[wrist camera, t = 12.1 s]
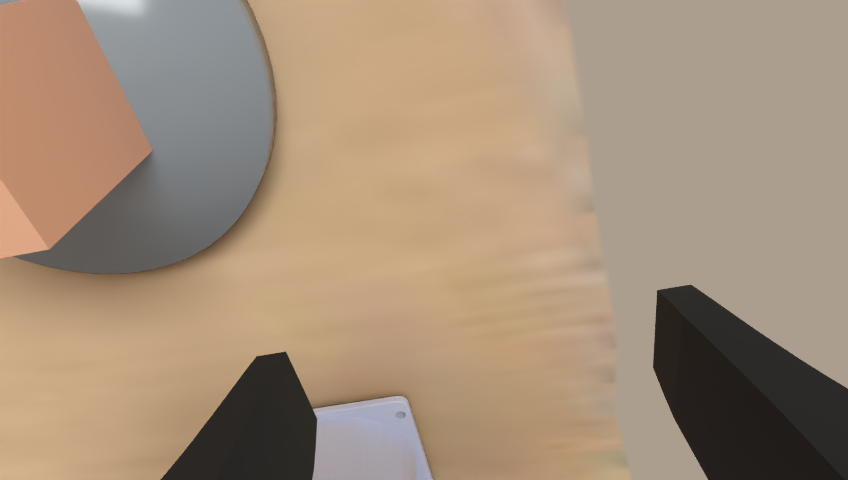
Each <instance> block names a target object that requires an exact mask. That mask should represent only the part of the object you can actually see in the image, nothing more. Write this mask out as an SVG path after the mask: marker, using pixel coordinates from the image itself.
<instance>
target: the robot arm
mask: <svg viewBox="0 0 848 480" xmlns="http://www.w3.org/2000/svg"><path fill="white" fill-rule="evenodd" d="M653 368H654V371H655V373H656V376H657V378H658V381H659V383H660V386H661V388H662V391H663V393H664V396H665V398H666V400H667V403H668V405H669V407H670V410H671V412H672V414H673V417H674V419H675V421H676V422H677V424H678V426H679V428H680V430H681V432H682V433H683V435H684V437H685V439H686V441H687V442H688V444H689V446H690V448H691V450H692V451H693V453H694V455H695V457H696V459H697V460H698V462H699V464H700V466H701V467H702V469H703V471H704V473H705V475H706V476H707V478H708V480H848V389H847V388H846V387H844V386H842V385H841V384H839V383H837V382H836V381H834V380H832V379H831V378H829V377H827V376H826V375H824V374H823V373H821V372H819V371H818V370H816V369H815V368H813V367H811V366H810V365H808V364H807V363H805V362H803V361H802V360H800V359H799V358H797V357H795V356H794V355H793V354H791V353H790V352H788V351H787V350H785V349H784V348H782V347H781V346H779V345H777V344H776V343H774V342H773V341H771V340H770V339H769V338H767V337H765V336H764V335H763V334H761V333H760V332H758V331H756V330H755V329H754V328H752V327H751V326H749V325H748V324H747V323H745V322H744V321H742V320H741V319H739V318H738V317H736V316H735V315H734V314H732V313H731V312H729V311H728V310H727V309H725V308H724V307H722V306H721V305H719V304H718V303H717V302H715V301H714V300H712V299H711V298H709V297H708V296H706V295H705V294H704V293H702V292H701V291H699V290H698V289H697V288H695V287H693V286H692V285H686V286H680V287H674V288H668V289H662V290H658V291H657V305H656V324H655V343H654V362H653ZM161 480H433V478H432V474H431V471H430V468H429V465H428V462H427V459H426V455H425V452H424V449H423V446H422V443H421V440H420V436H419V433H418V430H417V427H416V424H415V421H414V417H413V414H412V411H411V408H410V405H409V402H408V400H407V399H406V398H405V397H403V396H392V397H386V398H380V399H373V400H367V401H360V402H354V403H347V404H341V405H334V406H328V407H322V408H315V409H312V407H311V404H310V402H309V400H308V398H307V396H306V394H305V392H304V389H303V387H302V385H301V383H300V381H299V379H298V377H297V374H296V372H295V370H294V368H293V366H292V364H291V362H290V359H289V357H288V355H287V353H286V352H281V353H275V354H269V355H263V356H257V357H256V358H255V359H254V361H253V362H252V363H251V364H250V366H249V367H248V368H247V370H246V371H245V372H244V373H243V375H242V376H241V377H240V379H239V380H238V382H237V383H236V384H235V386H234V387H233V388H232V390H231V391H230V392H229V394H228V395H227V396H226V398H225V399H224V400H223V402H222V403H221V404H220V406H219V407H218V408H217V410H216V411H215V412H214V414H213V415H212V416H211V418H210V419H209V420H208V421H207V423H206V424H205V425H204V427H203V428H202V429H201V431H200V432H199V433H198V434H197V436H196V437H195V438H194V440H193V441H192V442H191V444H190V445H189V446H188V447H187V449H186V450H185V451H184V452H183V454H182V455H181V456H180V457H179V458H178V460H177V461H176V462H175V463H174V464H173V466H172V467H171V468H170V469H169V470H168V472H167V473H166V474H165V475H164V476H163V478H162V479H161Z"/></svg>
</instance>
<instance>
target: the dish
mask: <svg viewBox="0 0 848 480" xmlns="http://www.w3.org/2000/svg"><path fill="white" fill-rule="evenodd" d="M16 1H21V0H0V5H3V4H8V3H12V2H16ZM77 1H78V3H79V5H80V7H81V9H82V11H83V13H84V15H85V17H86V19H87V21H88V23H89V25H90V27H91V29H92V31H93V33H94V35H95V37H96V39H97V41H98V43H99V45H100V47H101V49H102V51H103V53H104V55H105V57H106V59H107V61H108V63H109V65H110V67H111V69H112V71H113V73H114V75H115V77H116V79H117V81H118V83H119V85H120V87H121V88H122V90H123V92H124V94H125V96H126V98H127V100H128V102H129V104H130V106H131V108H132V110H133V112H134V114H135V116H136V118H137V120H138V122H139V124H140V126H141V128H142V130H143V132H144V134H145V136H146V138H147V140H148V142H149V144H150V146H151V148H152V150H153V151H152V152H151V153H150V154H149V155H148V156H147V157H145V158H144V159H143V160H142V161H141V162H140V163H139V164H138V165H137V166H136V167H135V168H134V169H133V170H132V171H131V172H130V173H129V174H128V175H127V176H126V177H125V178H123V179H122V180H121V181H120V182H119V183H118V184H117V185H116V186H115V187H114V188H113V189H112V190H111V191H110V192H109V193H108V194H107V195H106V196H105V197H104V198H103V199H102V200H100V201H99V202H98V203H97V204H96V205H95V206H94V207H93V208H92V209H91V210H90V211H89V212H88V213H87V214H86V215H85V216H84V217H83V218H82V219H81V220H80V221H78V222H77V223H76V224H75V225H74V226H73V227H72V228H71V229H70V230H69V231H68V232H67V233H66V234H65V235H64V236H63V237H62V238H61V239H60V240H59V241H58V242H56V243H55V244H54V245H53V246H52V247H51V248H50V249H48V250H43V251H38V252H32V253H27V254H22V255H16V256H14V257H17V258H19V259H22V260H26V261H29V262H33V263H36V264H40V265H44V266H47V267H52V268H57V269H63V270H68V271H73V272H83V273H95V274H125V273H133V272H142V271H148V270H152V269H156V268H160V267H165V266H169V265H171V264H174V263H176V262H179V261H181V260H184V259H187V258H189V257H191V256H193V255H194V254H196V253H198V252H200V251H202V250H203V249H205V248H207V247H208V246H210V245H211V244H212V243H213V242H215V241H216V240H217V239H219V238H220V237H221V236H222V235H224V234H225V233H226V232H227V231H228V229H229V228H230V227H231V226H232V225H233V224H234V223H235V222H236V221H237V220H238V219H239V217H240V216H241V214H242V213H243V211H244V210H245V208H246V207H247V205H248V204H249V202H250V201H251V199H252V197H253V195H254V193H255V191H256V190H257V188H258V186H259V184H260V181H261V179H262V177H263V175H264V173H265V170H266V168H267V166H268V162H269V159H270V155H271V152H272V148H273V145H274V137H275V129H276V121H277V120H276V91H275V84H274V78H273V71H272V66H271V62H270V59H269V55H268V51H267V48H266V44H265V41H264V38H263V35H262V33H261V30H260V28H259V25H258V23H257V21H256V18H255V16H254V13H253V11H252V8H251V7H250V5H249V3H248V1H247V0H77Z"/></svg>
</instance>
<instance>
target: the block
mask: <svg viewBox="0 0 848 480" xmlns="http://www.w3.org/2000/svg"><path fill="white" fill-rule="evenodd" d="M152 151H153V150H152V148H151V146H150V144H149V142H148V140H147V138H146V136H145V134H144V132H143V130H142V128H141V126H140V124H139V122H138V120H137V118H136V116H135V114H134V112H133V110H132V108H131V106H130V104H129V102H128V100H127V98H126V96H125V94H124V92H123V90H122V88H121V87H120V85H119V83H118V81H117V79H116V77H115V75H114V73H113V71H112V69H111V67H110V65H109V63H108V61H107V59H106V57H105V55H104V53H103V51H102V49H101V47H100V45H99V43H98V41H97V39H96V37H95V35H94V33H93V31H92V29H91V27H90V25H89V23H88V21H87V19H86V17H85V15H84V13H83V11H82V9H81V7H80V5H79V3H78V1H77V0H21V1H16V2H12V3H8V4H3V5H0V258H5V257H11V256H16V255H22V254H27V253H32V252H38V251H43V250H48V249H50V248H51V247H52V246H53V245H54V244H55V243H56V242H58V241H59V240H60V239H61V238H62V237H63V236H64V235H65V234H66V233H67V232H68V231H69V230H70V229H71V228H72V227H73V226H74V225H75V224H76V223H77V222H78V221H80V220H81V219H82V218H83V217H84V216H85V215H86V214H87V213H88V212H89V211H90V210H91V209H92V208H93V207H94V206H95V205H96V204H97V203H98V202H99V201H100V200H102V199H103V198H104V197H105V196H106V195H107V194H108V193H109V192H110V191H111V190H112V189H113V188H114V187H115V186H116V185H117V184H118V183H119V182H120V181H121V180H122V179H123V178H125V177H126V176H127V175H128V174H129V173H130V172H131V171H132V170H133V169H134V168H135V167H136V166H137V165H138V164H139V163H140V162H141V161H142V160H143V159H144V158H145V157H147V156H148V155H149V154H150V153H151V152H152Z"/></svg>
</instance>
